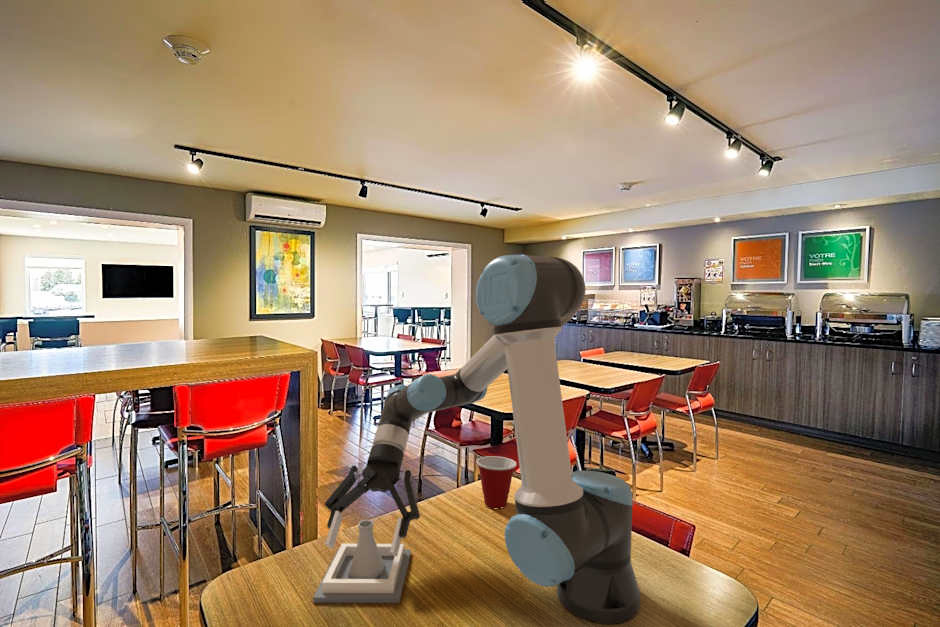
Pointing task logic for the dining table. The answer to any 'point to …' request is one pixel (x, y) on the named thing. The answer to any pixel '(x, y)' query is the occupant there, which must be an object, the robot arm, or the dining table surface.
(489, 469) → the plastic cup
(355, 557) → the flask
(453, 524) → the dining table surface
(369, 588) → the holder
